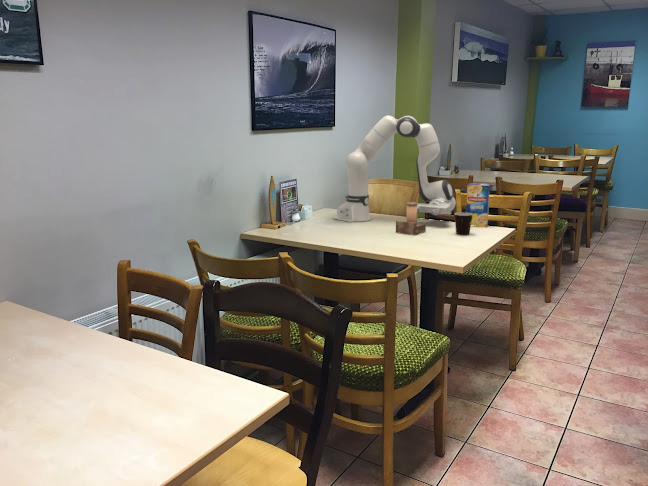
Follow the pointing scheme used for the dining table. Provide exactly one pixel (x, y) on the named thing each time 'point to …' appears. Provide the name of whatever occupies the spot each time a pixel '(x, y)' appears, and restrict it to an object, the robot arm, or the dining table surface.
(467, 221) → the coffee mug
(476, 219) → the blue yellow food box
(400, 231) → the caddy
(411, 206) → the canister
